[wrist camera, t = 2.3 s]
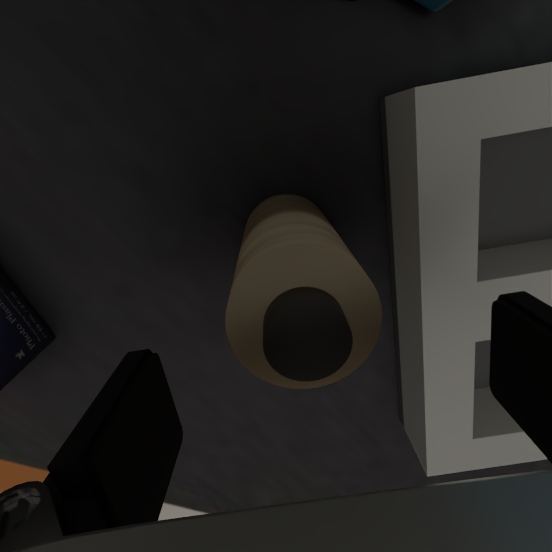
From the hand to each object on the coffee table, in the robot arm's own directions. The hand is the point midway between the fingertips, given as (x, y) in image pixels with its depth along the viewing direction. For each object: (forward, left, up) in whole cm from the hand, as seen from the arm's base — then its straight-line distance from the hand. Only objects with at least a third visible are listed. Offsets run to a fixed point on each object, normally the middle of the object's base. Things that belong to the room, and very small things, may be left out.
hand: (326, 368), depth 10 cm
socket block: (+4, +12, -13) cm, 18 cm away
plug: (-1, 0, -13) cm, 13 cm away
